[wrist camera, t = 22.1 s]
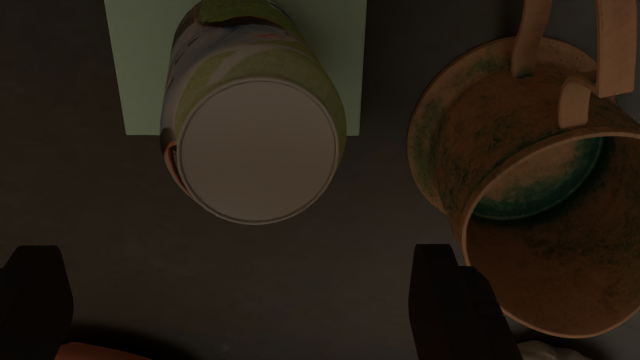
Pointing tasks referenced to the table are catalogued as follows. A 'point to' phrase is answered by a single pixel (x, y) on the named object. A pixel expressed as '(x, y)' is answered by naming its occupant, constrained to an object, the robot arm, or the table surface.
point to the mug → (541, 170)
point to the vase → (547, 352)
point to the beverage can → (249, 113)
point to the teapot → (93, 353)
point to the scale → (163, 20)
